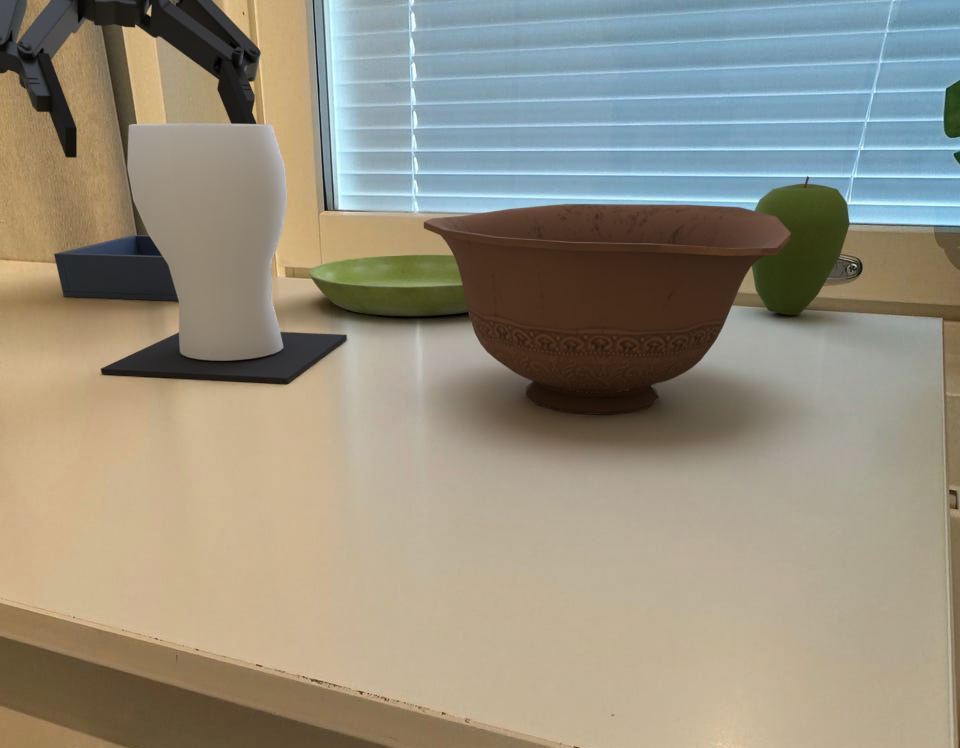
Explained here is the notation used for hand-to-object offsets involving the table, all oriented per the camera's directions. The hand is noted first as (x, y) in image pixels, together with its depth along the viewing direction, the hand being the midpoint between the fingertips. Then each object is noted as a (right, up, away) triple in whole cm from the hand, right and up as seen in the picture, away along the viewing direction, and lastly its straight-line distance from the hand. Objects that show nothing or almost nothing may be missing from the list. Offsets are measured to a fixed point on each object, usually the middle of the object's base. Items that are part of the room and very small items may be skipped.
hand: (165, 143), depth 67 cm
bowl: (+31, -21, -8) cm, 39 cm away
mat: (+5, -16, +1) cm, 17 cm away
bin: (-9, 0, +27) cm, 29 cm away
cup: (+5, -16, +1) cm, 16 cm away
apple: (+52, -7, +16) cm, 55 cm away
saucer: (+18, -5, +20) cm, 27 cm away
